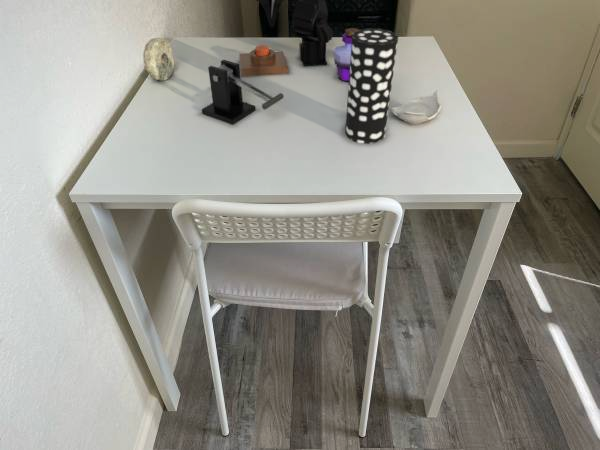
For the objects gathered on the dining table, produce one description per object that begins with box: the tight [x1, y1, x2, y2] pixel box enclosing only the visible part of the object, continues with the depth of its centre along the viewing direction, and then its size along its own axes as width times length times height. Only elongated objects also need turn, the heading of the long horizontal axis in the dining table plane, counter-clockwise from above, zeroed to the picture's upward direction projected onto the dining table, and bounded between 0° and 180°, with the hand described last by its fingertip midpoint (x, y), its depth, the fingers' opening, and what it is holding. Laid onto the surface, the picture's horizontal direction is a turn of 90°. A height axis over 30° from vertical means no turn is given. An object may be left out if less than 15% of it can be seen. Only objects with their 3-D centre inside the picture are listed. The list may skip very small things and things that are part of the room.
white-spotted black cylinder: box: [344, 28, 399, 145], centre depth 90 cm, size 8×8×20 cm
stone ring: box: [143, 37, 175, 82], centre depth 114 cm, size 10×4×10 cm, turn 160°
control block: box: [238, 48, 289, 78], centre depth 121 cm, size 12×10×4 cm
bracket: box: [201, 59, 256, 125], centre depth 100 cm, size 9×8×11 cm
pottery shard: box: [391, 90, 442, 125], centre depth 98 cm, size 10×11×5 cm
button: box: [254, 44, 270, 56], centre depth 119 cm, size 4×4×2 cm
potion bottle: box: [332, 27, 359, 83], centre depth 113 cm, size 9×9×12 cm
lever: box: [217, 64, 284, 110], centre depth 96 cm, size 15×6×2 cm, turn 56°
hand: (271, 26), depth 108 cm, fingers closed
